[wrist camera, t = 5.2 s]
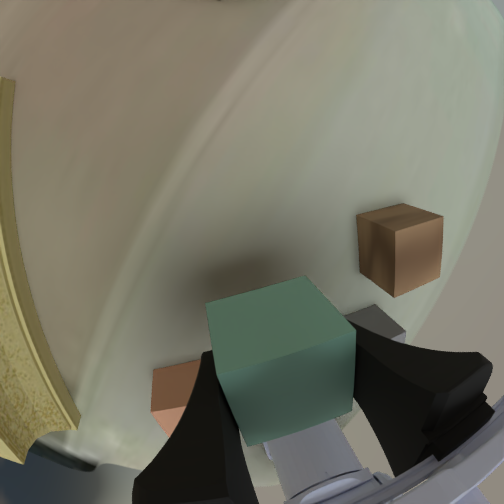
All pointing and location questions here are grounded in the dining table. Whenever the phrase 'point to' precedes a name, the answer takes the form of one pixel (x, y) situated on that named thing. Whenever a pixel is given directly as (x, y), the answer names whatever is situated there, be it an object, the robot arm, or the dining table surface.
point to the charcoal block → (378, 323)
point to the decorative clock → (23, 331)
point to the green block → (282, 358)
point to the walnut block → (400, 247)
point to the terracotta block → (172, 393)
